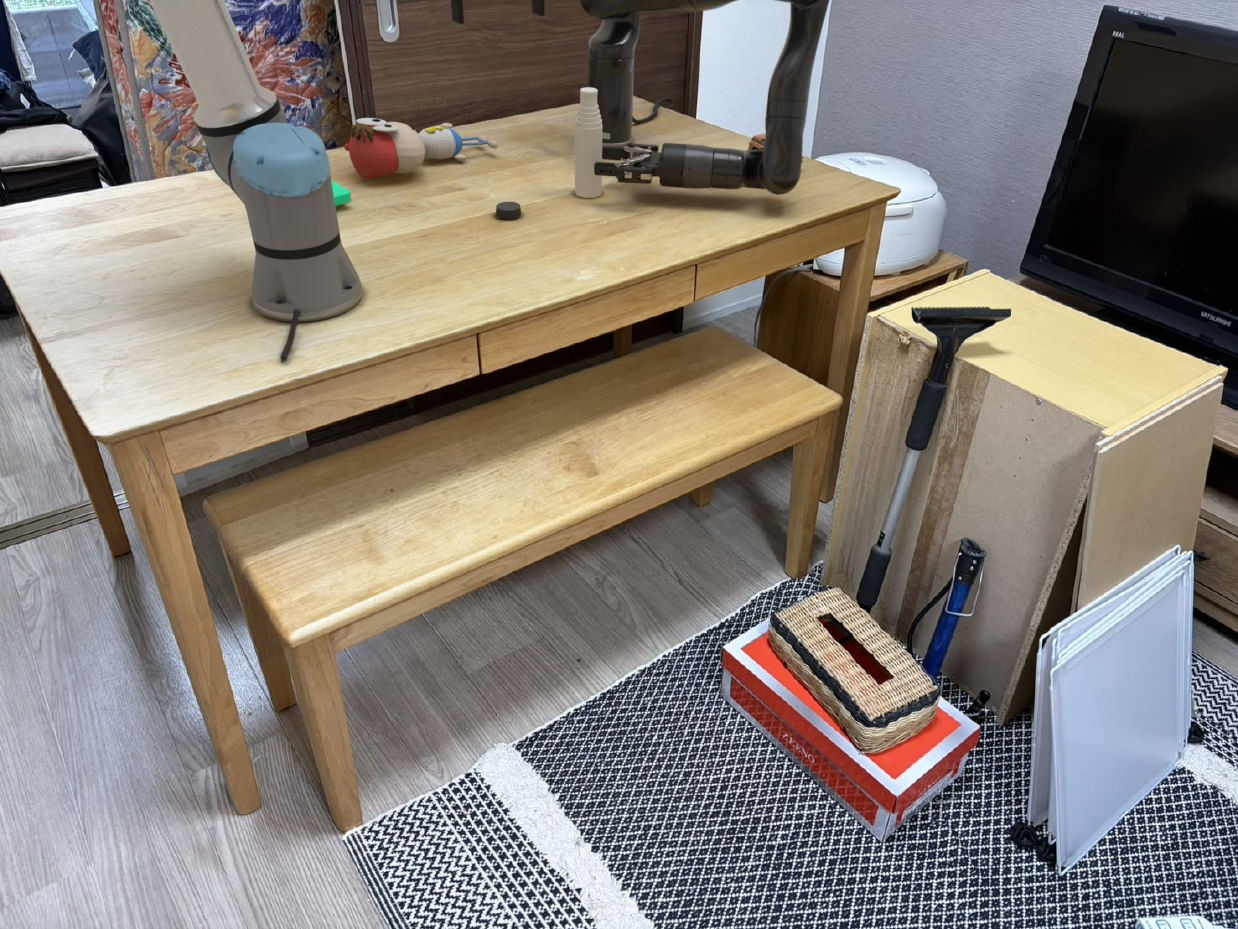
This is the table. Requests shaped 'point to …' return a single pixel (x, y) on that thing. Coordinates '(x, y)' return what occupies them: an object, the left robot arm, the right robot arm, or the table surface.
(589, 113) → the bottle
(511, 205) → the cap
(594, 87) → the right robot arm
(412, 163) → the toy
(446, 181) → the table surface
